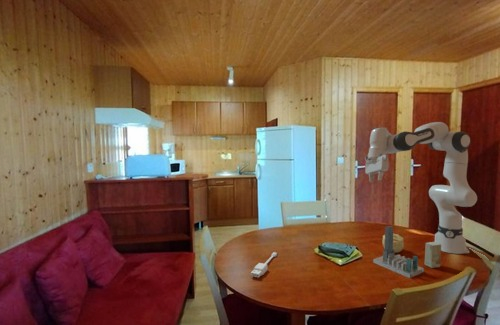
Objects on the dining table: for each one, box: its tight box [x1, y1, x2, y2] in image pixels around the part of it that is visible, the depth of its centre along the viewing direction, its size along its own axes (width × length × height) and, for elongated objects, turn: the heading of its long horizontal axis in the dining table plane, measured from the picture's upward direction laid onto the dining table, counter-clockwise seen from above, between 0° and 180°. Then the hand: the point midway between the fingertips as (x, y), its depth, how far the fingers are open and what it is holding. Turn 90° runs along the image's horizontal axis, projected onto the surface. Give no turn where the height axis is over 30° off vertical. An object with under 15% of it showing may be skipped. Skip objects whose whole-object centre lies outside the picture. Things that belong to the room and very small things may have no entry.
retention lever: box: [384, 225, 394, 255], centre depth 145 cm, size 2×4×15 cm, turn 119°
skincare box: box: [424, 241, 442, 269], centre depth 142 cm, size 6×4×12 cm
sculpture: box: [382, 232, 405, 253], centre depth 163 cm, size 11×12×11 cm
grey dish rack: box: [372, 249, 425, 279], centre depth 141 cm, size 20×12×8 cm, turn 29°
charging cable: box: [250, 251, 278, 278], centre depth 146 cm, size 5×32×3 cm, turn 156°
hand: (375, 180), depth 144 cm, fingers open, 8 cm apart
